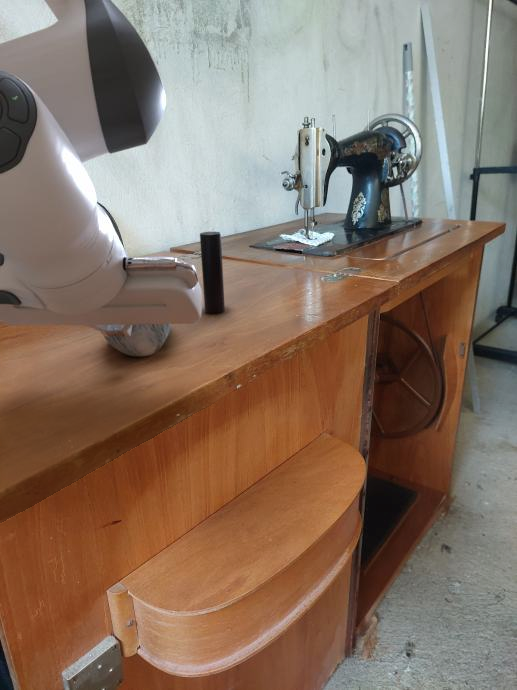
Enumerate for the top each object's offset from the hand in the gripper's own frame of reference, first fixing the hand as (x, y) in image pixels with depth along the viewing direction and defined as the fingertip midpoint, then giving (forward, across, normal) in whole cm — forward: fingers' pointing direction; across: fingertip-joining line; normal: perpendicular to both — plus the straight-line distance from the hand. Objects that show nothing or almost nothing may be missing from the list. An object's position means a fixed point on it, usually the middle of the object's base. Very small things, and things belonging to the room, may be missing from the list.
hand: (118, 330), depth 57 cm
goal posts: (+18, 0, -12) cm, 22 cm away
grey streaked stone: (+9, 0, -2) cm, 9 cm away
